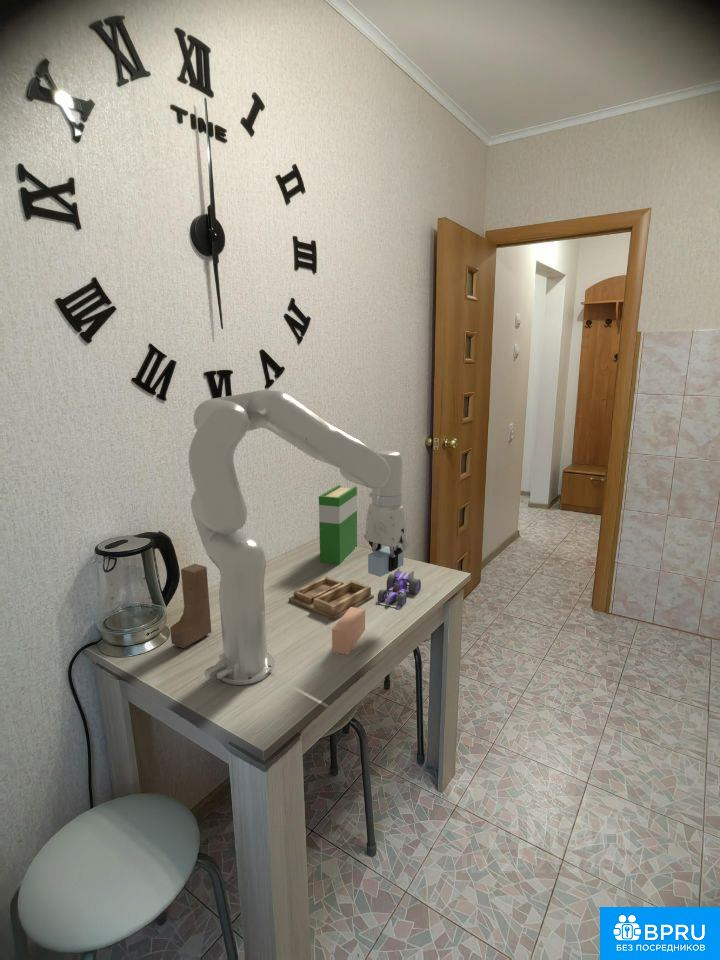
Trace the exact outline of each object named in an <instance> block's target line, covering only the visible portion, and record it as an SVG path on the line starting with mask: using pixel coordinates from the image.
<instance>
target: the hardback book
mask: <svg viewBox="0 0 720 960" xmlns="http://www.w3.org/2000/svg"><path fill="white" fill-rule="evenodd" d="M318 521H319V525H318V526H319V529H318V530H319V561H320V563H324V564H325V563H326V564H333V565H334V564H335V565H341V564H342V563H343V562H345V560H346V559H347V558H346V557H347V556H348V555H349V556H350V555H351V553H353V552H354V550H355V549H356V548H358V486H355V485H354V486H353V487H351V488H350V487H341V485H339V484H337V485H336V486H333V487H332V488H331V489H329V490H327V491H326V492H323V493H322V494H321V495H318ZM355 547H356V548H355ZM349 556H348V557H349ZM345 558H346V559H345ZM344 559H345V560H344Z"/></svg>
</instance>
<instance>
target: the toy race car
mask: <svg viewBox="0 0 720 960" xmlns="http://www.w3.org/2000/svg"><path fill="white" fill-rule="evenodd" d="M393 573H394V574H392V573H390V574H388V576H387V578H386V584H385V585H386V589H387V590H386V589H383V588H382V589H379V590H378V593H377V601H376V606H378V605H382V606H386V607H390V608H391V607H392V608H395V609H396V610H399V609H400V607H403V606H404V605H405V604H406V603H407V599H408V598H407V592H408V594H410V593H411V594H412V595H415V594H416V595H417V594H418V593H419V592H420V591H421V589H422V582H421V578H419V579H418V578H414V573H415V572H414V570H412V571H411V572H406V571H402V570H400V567H399V568H397V569H396V570H395V571H394V572H393ZM407 590H408V591H407ZM419 590H420V591H419ZM418 591H419V592H418ZM384 601H385V603H384ZM394 602H396V604H397V605H391V604H390V603H394Z"/></svg>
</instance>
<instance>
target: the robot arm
mask: <svg viewBox="0 0 720 960" xmlns="http://www.w3.org/2000/svg"><path fill="white" fill-rule="evenodd" d="M193 413H194V414H193V417H192V419H193V424H194V427H195V429H196V432H195V433H194V436H193V438H192V440H191V443H190V446H189V451H188V466H189V467H188V468H189V471H190V475H191V478H192V481H193V486H194V489H195V490H194V492H193V494H192V495H191V499H190V501H191V502H190V508H191V515H192V517H193V520H194V523H195V526H196V528H197V529H196V530H197V532H198V534H199V537H200V540H201V542H202V545H203V548H204V551H205V553H206V555H207V557H208V558H209V560H211V562H212V563H213V564H214V565H215V566H216V568H217V569H218V570H219V575H220V581H219V595H218V596H219V609H220V625H221V638H222V652H223V653H222V654H220V655H219V656H218V658H219V659H218V660H219V661H217V662H216V663H215V664H214V665H212V666H210V667H208V668H206V669H205V670H203V672H204V673H203V674H204V676H205V678H207V679H210V678H212V677H214V676H215V675H216V677H217V679H218V680H221V681H222V682H224V683H227V684H229V685H235V686H245V685H251V684H255V683H258V682H260V681H262V680H264V679H266V678H267V677H268V676H270V674H271V673H272V671H273V669H274V668H275V658H274V656H273V655H272V654H271V653H269V652H268V645H267V643H268V642H267V627H266V626H267V624H266V609H265V608H266V603H265V576H266V568H267V559H266V554H265V551H264V549H263V546H261V544H260V543H259V541H257V540H256V539H255V538H254V537H252V536H251V535H250V534H248V533H246V532H245V531H244V529H243V527H245V524H246V521H247V518H248V508H247V505H246V504H247V503H246V502H245V501H246V500H245V499H244V496H243V492H242V489H241V485H240V482H239V479H238V476H237V474H236V468H235V464H234V463H235V462H234V455H235V451H236V449H237V447H238V446H239V444H240V442H241V441H242V440H243V438H244V437H245V436H246V434H247V433H248V432H249V431H253V430H256V429H266V430H268V431H270V432H272V433H273V434H274V435H276V436H278V437H279V438H281V439H283V440H285V441H286V442H288V443H289V444H290V445H292V446H294V447H295V448H297V449H298V450H299V451H302V452H303V453H304V454H306V455H307V456H309V457H312V458H314V459H315V460H317V461H320V462H323V463H325V464H328V465H330V466H333V467H335V468H337V469H339V472H340V475H341V476H342V477H343V478H344V479H345V480H346V481H349V482H352V484H357V485H360V486H363V487H366V488H369V489H371V492H369V495H368V496H369V498H371V502H370V503H369V504H368V509H367V513H366V514H367V515H366V521H365V534H364V535H363V538H364V539H365V541H366V542H367V543H368V544H369V546H370V547H371V551H372V553H373V552H375V551H377V550H380V549H382V548H383V546H384V547H386V546H388V547H389V548H390V555H391V556H390V557H389V571H390V572H389V573H392V572H393V571H394V572H395V571H397V570H398V569H399V568H398V555H400V553H401V552H403V551H406V550H408V549H410V544H409V542H408V540H407V527H406V525H407V523H406V515H405V508H404V506H403V505H402V497H403V496H402V495H403V492H402V491H403V488H402V487H403V486H402V485H403V456H402V454H401V453H400V452H398V451H395V450H378V451H375V450H373V449H372V448H370V447H369V446H368V445H366V444H365V443H362V441H360V440H359V439H356V438H354V437H353V436H351V435H349V434H348V433H346V432H344V431H342V430H341V429H339V428H337V427H336V426H333V425H332V424H330V423H329V422H327V421H326V420H325V419H323V418H321V417H320V416H319V415H317V414H315V413H314V412H313V411H312V410H310V409H309V408H307V407H306V406H305V405H303V404H302V403H301V402H299V401H298V400H296V399H295V398H294V397H292V396H290V395H289V394H287V393H285V392H283V391H279V390H269V389H263V390H255V391H251V392H250V391H248V392H246V393H245V392H244V393H240V394H233V395H227V396H226V395H225V396H221V397H215V398H210V399H207V400H203V401H202V402H201V403H200V404H199V405H198V406H197V407H196V408H195V410H194V412H193ZM400 544H401V546H400ZM394 547H395V548H394Z"/></svg>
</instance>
